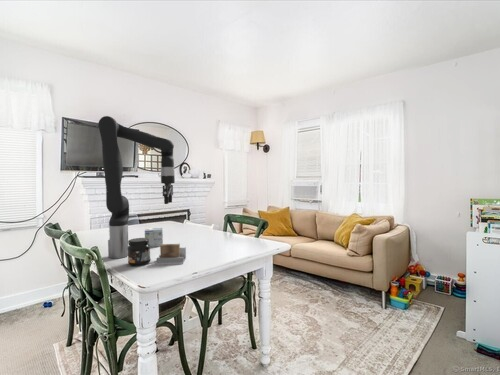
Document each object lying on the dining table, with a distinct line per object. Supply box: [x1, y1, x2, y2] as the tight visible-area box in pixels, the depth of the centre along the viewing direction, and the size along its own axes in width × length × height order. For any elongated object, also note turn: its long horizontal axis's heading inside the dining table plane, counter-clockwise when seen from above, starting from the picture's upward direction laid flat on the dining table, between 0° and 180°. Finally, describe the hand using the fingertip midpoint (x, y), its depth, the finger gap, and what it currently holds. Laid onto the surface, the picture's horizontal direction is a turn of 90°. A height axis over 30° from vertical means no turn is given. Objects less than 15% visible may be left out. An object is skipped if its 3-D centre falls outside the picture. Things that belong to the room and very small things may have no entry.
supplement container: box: [127, 237, 151, 267], centre depth 137 cm, size 10×10×12 cm
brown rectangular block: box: [159, 243, 181, 258], centre depth 139 cm, size 9×3×8 cm, turn 93°
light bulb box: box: [144, 227, 164, 248], centre depth 173 cm, size 11×7×11 cm, turn 108°
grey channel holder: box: [155, 246, 187, 266], centre depth 139 cm, size 13×9×6 cm
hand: (168, 203), depth 158 cm, fingers open, 8 cm apart
